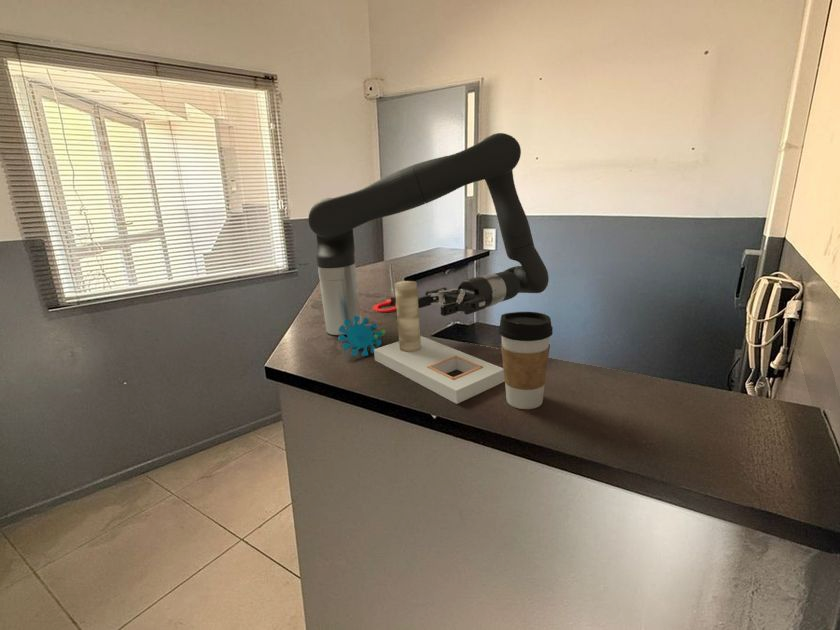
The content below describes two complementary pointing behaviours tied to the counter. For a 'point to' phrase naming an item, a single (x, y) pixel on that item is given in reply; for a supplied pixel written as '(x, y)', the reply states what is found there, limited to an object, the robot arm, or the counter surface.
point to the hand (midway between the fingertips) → (428, 307)
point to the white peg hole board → (441, 369)
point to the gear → (360, 336)
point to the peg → (408, 316)
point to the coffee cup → (525, 356)
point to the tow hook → (388, 302)
